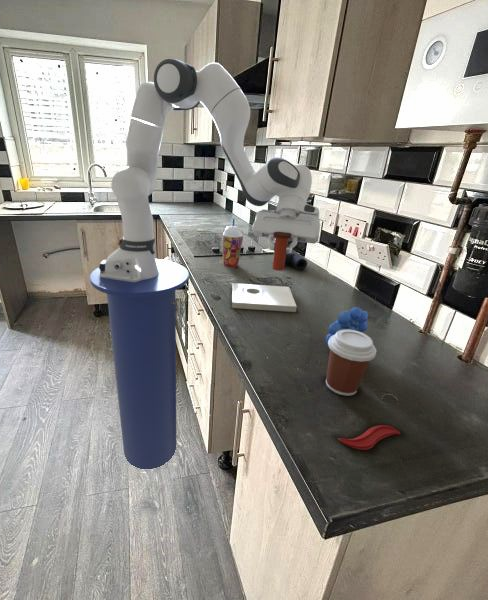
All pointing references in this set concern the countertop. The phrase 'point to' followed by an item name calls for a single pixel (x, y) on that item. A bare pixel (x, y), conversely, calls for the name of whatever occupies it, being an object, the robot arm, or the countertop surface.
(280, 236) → the stopper
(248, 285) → the sink floor
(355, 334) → the coffee cup
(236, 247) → the smoothie
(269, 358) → the countertop surface
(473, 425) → the countertop surface
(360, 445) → the cayenne pepper
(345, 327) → the grapes
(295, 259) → the pipe connector
